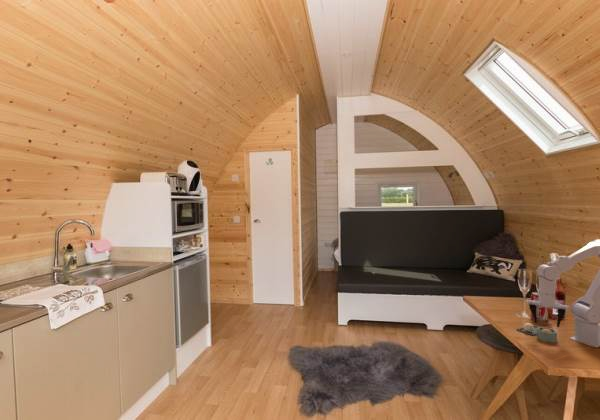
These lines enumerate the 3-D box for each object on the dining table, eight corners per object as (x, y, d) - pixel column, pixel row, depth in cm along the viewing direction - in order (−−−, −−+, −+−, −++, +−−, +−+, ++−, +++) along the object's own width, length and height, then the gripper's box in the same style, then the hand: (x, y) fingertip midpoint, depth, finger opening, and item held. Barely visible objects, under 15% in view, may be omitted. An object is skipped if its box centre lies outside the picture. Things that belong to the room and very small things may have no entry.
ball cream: (536, 332, 148) (536, 323, 148) (530, 334, 146) (530, 325, 146) (526, 329, 152) (526, 320, 152) (521, 330, 150) (521, 322, 150)
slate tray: (548, 331, 150) (548, 329, 150) (532, 336, 145) (532, 334, 145) (532, 326, 156) (532, 324, 156) (516, 330, 151) (516, 328, 151)
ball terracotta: (552, 337, 142) (552, 328, 142) (552, 341, 139) (552, 331, 138) (540, 335, 144) (541, 326, 144) (540, 338, 141) (541, 329, 141)
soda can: (531, 320, 164) (532, 294, 164) (529, 315, 170) (529, 291, 170) (549, 322, 161) (549, 296, 160) (546, 318, 167) (546, 292, 167)
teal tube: (560, 341, 140) (560, 331, 140) (550, 344, 137) (550, 334, 137) (542, 335, 146) (542, 325, 146) (533, 338, 143) (533, 328, 143)
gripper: (568, 293, 140) (568, 325, 140) (527, 288, 148) (526, 318, 149) (569, 297, 134) (568, 330, 134) (526, 291, 143) (526, 322, 143)
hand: (546, 324), depth 141 cm, fingers open, 7 cm apart
